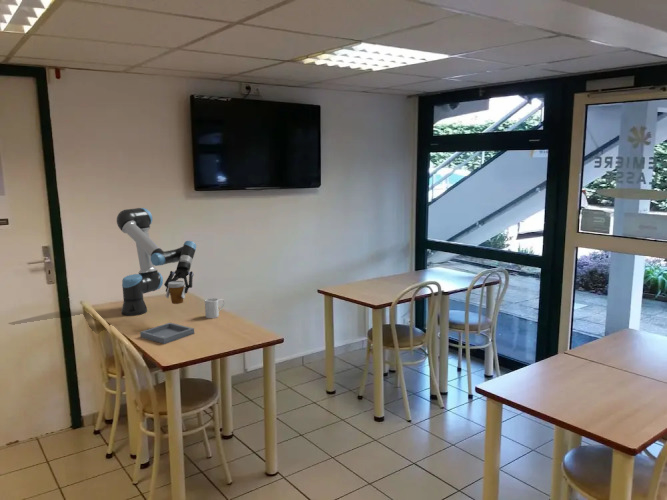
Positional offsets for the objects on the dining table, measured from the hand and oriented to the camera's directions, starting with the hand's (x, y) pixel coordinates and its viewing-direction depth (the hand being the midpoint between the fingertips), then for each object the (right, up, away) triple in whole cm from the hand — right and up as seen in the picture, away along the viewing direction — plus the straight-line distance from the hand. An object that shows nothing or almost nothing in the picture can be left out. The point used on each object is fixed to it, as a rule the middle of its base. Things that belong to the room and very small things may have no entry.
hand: (174, 297), depth 303 cm
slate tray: (0, -20, -14) cm, 24 cm away
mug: (+19, -14, +22) cm, 32 cm away
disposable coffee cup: (+1, -4, +4) cm, 5 cm away
